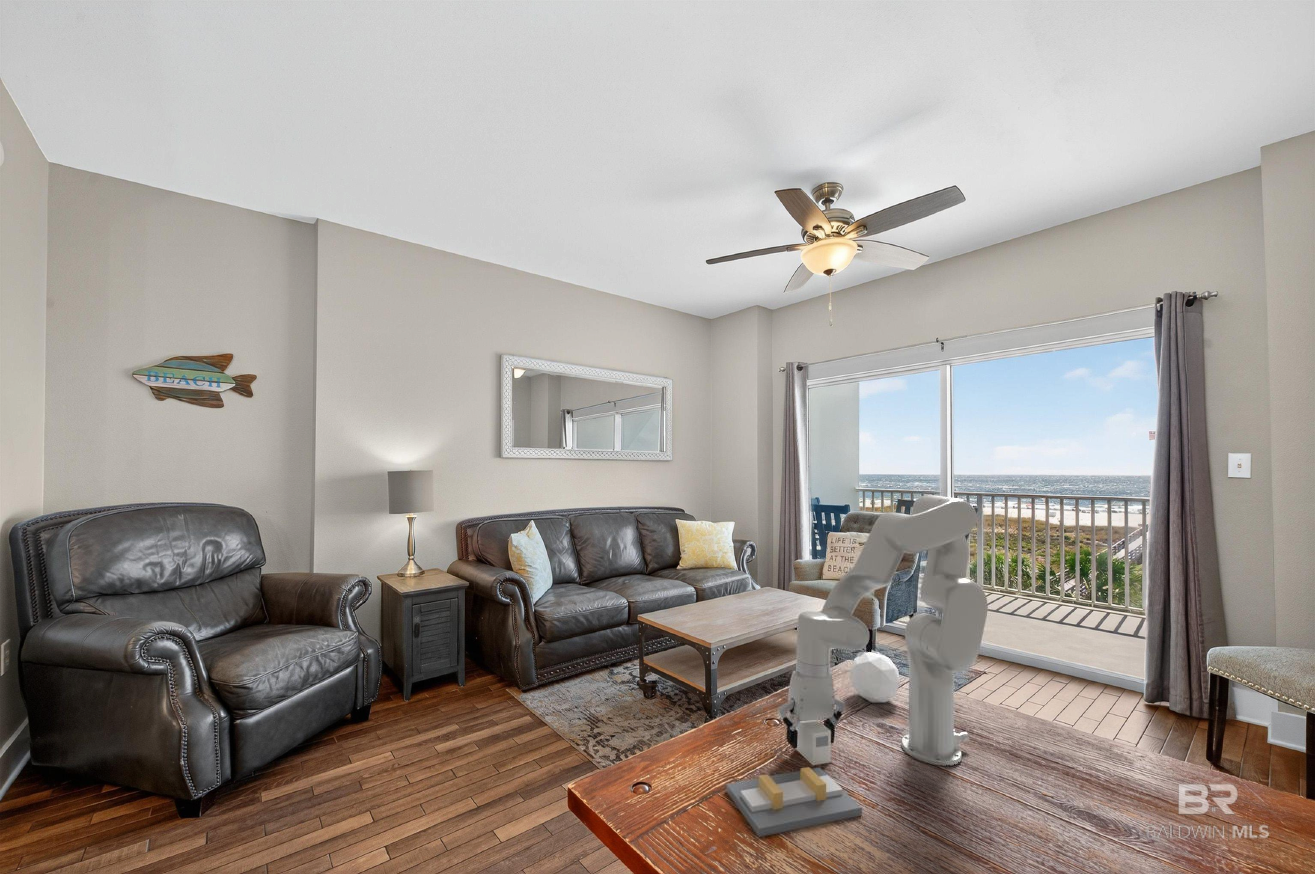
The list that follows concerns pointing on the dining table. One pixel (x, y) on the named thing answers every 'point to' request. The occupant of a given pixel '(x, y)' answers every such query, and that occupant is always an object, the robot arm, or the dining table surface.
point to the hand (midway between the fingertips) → (810, 742)
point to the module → (814, 742)
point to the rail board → (791, 801)
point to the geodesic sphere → (874, 676)
